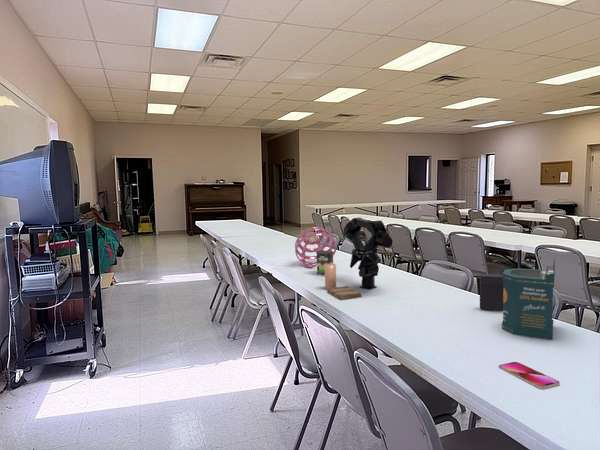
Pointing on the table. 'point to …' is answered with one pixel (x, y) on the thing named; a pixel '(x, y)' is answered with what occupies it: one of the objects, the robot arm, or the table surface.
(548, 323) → the donation box
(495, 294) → the dark grey block
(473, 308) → the table surface
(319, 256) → the coffee can
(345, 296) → the shelf board
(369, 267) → the robot arm
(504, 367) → the smartphone
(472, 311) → the table surface
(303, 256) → the pink openwork sphere
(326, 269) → the peach cylinder
